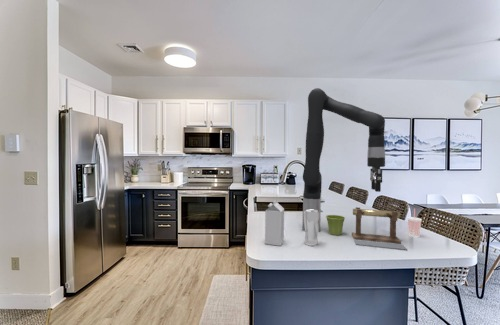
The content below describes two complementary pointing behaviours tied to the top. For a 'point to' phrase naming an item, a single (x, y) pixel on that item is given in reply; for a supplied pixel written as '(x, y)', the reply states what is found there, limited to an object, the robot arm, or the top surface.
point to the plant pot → (335, 224)
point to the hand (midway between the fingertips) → (375, 190)
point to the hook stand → (378, 238)
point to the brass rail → (376, 213)
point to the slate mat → (380, 245)
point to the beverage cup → (414, 226)
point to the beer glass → (311, 226)
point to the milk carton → (274, 224)
